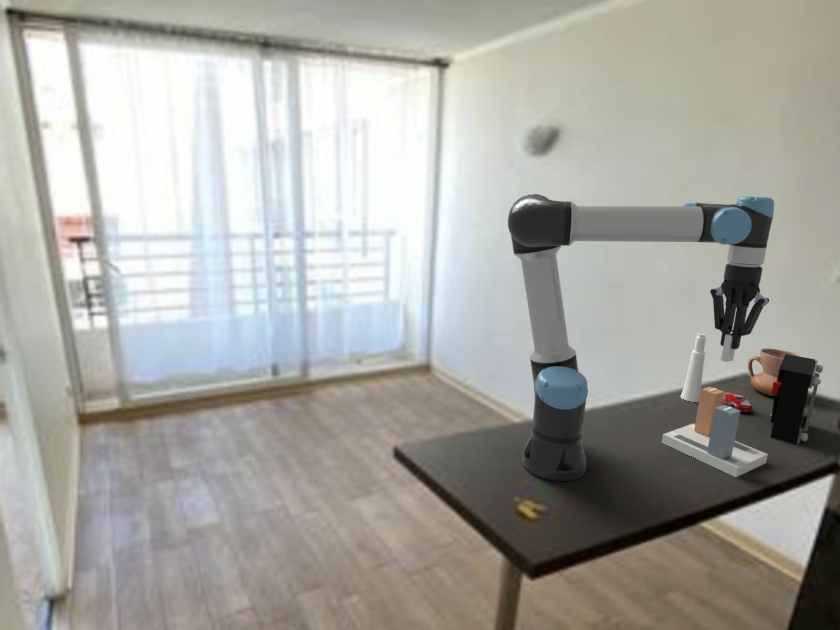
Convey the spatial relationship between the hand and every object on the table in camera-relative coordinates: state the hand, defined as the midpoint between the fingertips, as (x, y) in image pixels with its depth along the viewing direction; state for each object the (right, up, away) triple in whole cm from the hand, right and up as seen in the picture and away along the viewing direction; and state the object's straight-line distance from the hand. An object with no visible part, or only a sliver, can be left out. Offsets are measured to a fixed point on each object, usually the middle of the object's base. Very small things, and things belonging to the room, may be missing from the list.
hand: (726, 360), depth 136 cm
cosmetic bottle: (+13, -16, +45) cm, 50 cm away
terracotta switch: (+3, -21, +15) cm, 26 cm away
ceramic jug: (+45, -15, +54) cm, 72 cm away
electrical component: (+31, -22, +25) cm, 45 cm away
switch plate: (+1, -25, +10) cm, 27 cm away
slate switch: (0, -24, +3) cm, 24 cm away
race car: (+25, -18, +41) cm, 52 cm away
